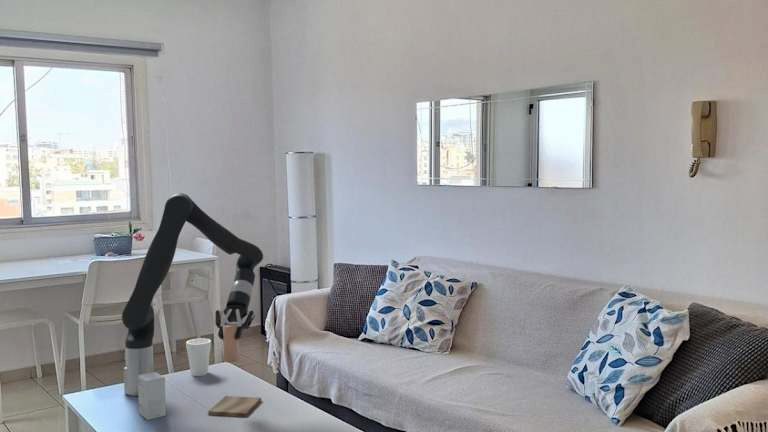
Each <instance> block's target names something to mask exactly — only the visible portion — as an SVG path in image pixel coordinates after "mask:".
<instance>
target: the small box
mask: <svg viewBox="0 0 768 432" xmlns="http://www.w3.org/2000/svg"><path fill="white" fill-rule="evenodd" d="M165 378H166V377H165V376H163V375H162V374H160V373H159V372H157V371H153V373H147V374H142V375H138V396H137V398H138V414H139V415H140V416H142V417H143V418H144V419H145V420H152V419H154V420H155V419H156V418H162V417H165V416H166V415H167V413H166V412H167V411H166V410H167V409H166V405H167V404H166V379H165Z"/></svg>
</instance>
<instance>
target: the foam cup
mask: <svg viewBox="0 0 768 432" xmlns="http://www.w3.org/2000/svg"><path fill="white" fill-rule="evenodd" d="M185 345H186V346H185V349H186V351H187V357H188V358H187V359H188V364H189V369H190V370H189V371H190V375H191V376H193V377H202V376H206V375H207V374H208V371H209V364H210V356H211V355H210V354H211V348H212V340H211V339H209V338H203V337H202V338H192V339H189V340H187V341H186V342H185Z"/></svg>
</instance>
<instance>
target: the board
mask: <svg viewBox="0 0 768 432" xmlns="http://www.w3.org/2000/svg"><path fill="white" fill-rule="evenodd" d="M261 401H262V397H257V396H256V397H255V396H253V397H252V396H237V395H235V396H234V395H225V396H224V397H223V398H221V399H220V400H219V401H218V402H217V403H216V404H215V405H214V406H213V407H211V408H210V409H209V410H208V412H207V413H208V416H210V415H211V416H227V417H241V418H242V417H244V418H247V416H249V414H250V413H251V412H252V411H253V410H254V409H255V408H256V407H257V406H258V405H259V404H260V403H261Z"/></svg>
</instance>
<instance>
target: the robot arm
mask: <svg viewBox="0 0 768 432" xmlns="http://www.w3.org/2000/svg"><path fill="white" fill-rule="evenodd" d="M186 222H187V223H188V224H189V225H191V226H193V227H195V228H196V230H198V231H200V233H202V234H203V235H204V237H206V238H207V239H208V240H209V241H210V242H211V243H212V244H214V245H215V246H216V247H217V248H218V249H220V250H221V251H223V252H225V253H226V254H227V255H233V254H237V255H239V256H238V258H237V260H236V263H235V264H236V265H235V276H234V279H233V283H232V285H231V288H230V291H229V295H228V297H227V302H226V305H225V306H226V307H224V309H223V310H221V311H220V310H219V309H217V310H215V318H214V319H215V322H214V323H215V326H216V327H217V328H218V329H219V330H218V333H217V336H218V338H219V339H220V340H223V325H226V324H232V323H234V322H235V323H237V324H238V327H237V330H236V334H235V338H236V340H238V341H239V339H241V337H242V334H243V331H244V330H245V329H246V330H248V329H249V328H250V327H251V324H252V323H253V321H254V320H255V317H256V314H255V312H254V311H253V310H250V311H249V306H250V302H251V298H252V295H253V288H254V284H255V279H256V274H255V272H254V269H255V268H256V267H257V266H258V265H259V264H260V263H261V262H262V261H263V260H264V253H263V251H262V249H260V247H258V245H256V244H254V243H251V242H248V241H246V240H245V239H242V238H240V237H238V236H236V235H235V234H234V233H233V232H232V231H230V230H228V229H227V228H226V227H224V225H221V224H220V223H219V222H217V221H216V220H214V219H213V218H212V217H210V216H209V215H208V214H207V213H206V212H205V211H204V210H202V209H201V208H200V207H199V206H198V204H196V203H195V201H194V200H192V199H191V197H190V196H189V195H188V194H186V193H182V192H177V193H174V194H172V195H171V196H170V197H168V199H166V201H165V205H164V209H163V213H162V216H161V220H160V224H159V227H158V229H157V231H156V234H155V236H154V238H153V239H152V241H151V243H150V245H149V247H148V249H147V251H146V254H145V257H144V259H143V262H142V264H141V268H140V271H139V274H138V276H137V280H136V283H135V286H134V288H133V291H132V292H131V293H132V294H131V295H130V297H129V300H128V301H127V303H126V305H125V307H124V309H123V311H122V312H121V321H122V324H123V325H124V327H125V328H126V329H128V330H127V331H128V332H127V336H126V338H125V367H123V381H124V382H123V386H124V387H123V388H124V389H123V390H124V394H125V395H128V396H131V397H138V375H142V374H147V373H153V372H154V347H153V346H154V345H153V339H154V335H155V311H154V308H153V306H152V302H153V300H154V297H155V295H156V293H157V292H158V290H159V288H160V287H161V285H162V284H163V282H164V281H165V279H166V277H167V275H168V273H169V271H170V268H171V266H172V263H173V260H174V257H175V254H176V250H177V246H178V241H179V237H180V234H181V232H182V230H183V227H184V225H185V224H186ZM223 316H224V317H223ZM244 318H245V320H244ZM243 320H244V321H243Z"/></svg>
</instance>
